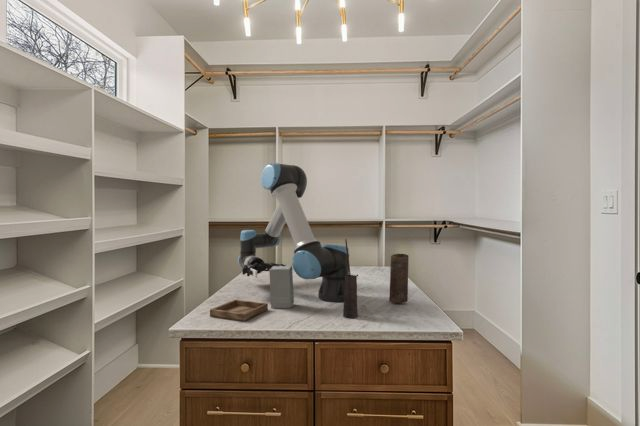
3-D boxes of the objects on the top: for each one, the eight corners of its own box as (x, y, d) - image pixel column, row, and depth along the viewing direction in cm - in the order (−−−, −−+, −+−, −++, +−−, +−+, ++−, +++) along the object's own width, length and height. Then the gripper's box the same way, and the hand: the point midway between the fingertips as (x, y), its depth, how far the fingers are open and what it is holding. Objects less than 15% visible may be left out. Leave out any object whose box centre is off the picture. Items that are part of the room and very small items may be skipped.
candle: (411, 303, 144) (411, 254, 143) (402, 306, 138) (402, 256, 138) (395, 299, 149) (395, 252, 149) (385, 303, 144) (386, 254, 143)
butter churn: (369, 314, 129) (369, 238, 128) (361, 321, 120) (361, 240, 119) (345, 311, 132) (345, 237, 132) (336, 318, 124) (336, 239, 123)
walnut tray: (267, 310, 134) (267, 303, 134) (244, 321, 120) (244, 314, 120) (235, 305, 140) (235, 299, 139) (209, 316, 126) (209, 309, 126)
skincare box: (293, 304, 142) (293, 265, 142) (290, 309, 135) (290, 268, 134) (273, 303, 143) (273, 265, 142) (269, 308, 136) (269, 268, 135)
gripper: (278, 270, 172) (298, 278, 154) (228, 275, 159) (242, 284, 141) (278, 255, 172) (298, 261, 153) (228, 258, 159) (242, 266, 141)
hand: (271, 272), depth 147 cm, fingers open, 13 cm apart
